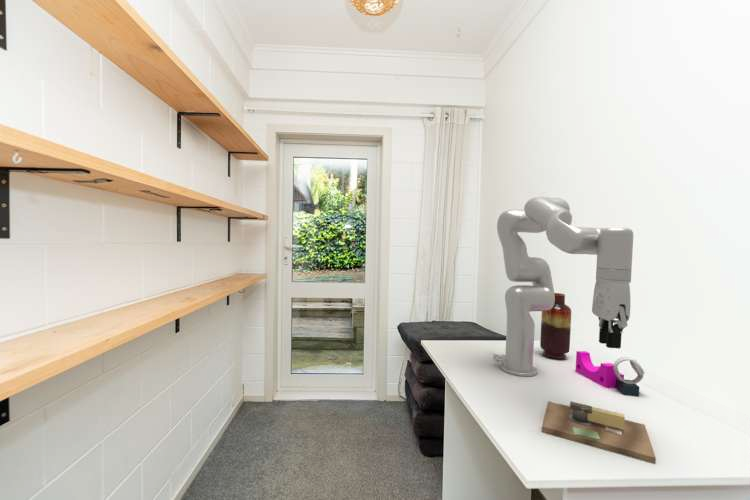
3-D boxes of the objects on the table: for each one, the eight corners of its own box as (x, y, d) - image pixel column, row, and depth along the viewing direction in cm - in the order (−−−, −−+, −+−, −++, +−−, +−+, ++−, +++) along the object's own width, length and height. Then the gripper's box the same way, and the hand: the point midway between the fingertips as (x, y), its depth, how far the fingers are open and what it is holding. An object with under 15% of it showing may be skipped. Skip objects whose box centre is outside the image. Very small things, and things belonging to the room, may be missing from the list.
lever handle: (569, 419, 88) (570, 405, 88) (569, 413, 92) (570, 399, 91) (624, 433, 82) (625, 418, 82) (622, 426, 86) (623, 412, 85)
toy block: (623, 388, 115) (624, 366, 115) (605, 388, 114) (606, 366, 114) (591, 370, 130) (592, 351, 129) (575, 371, 129) (576, 351, 129)
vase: (545, 349, 154) (548, 291, 153) (573, 355, 146) (576, 294, 145) (535, 354, 146) (538, 293, 146) (563, 361, 138) (566, 297, 137)
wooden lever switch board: (541, 434, 85) (542, 425, 85) (547, 407, 99) (548, 400, 99) (655, 467, 74) (655, 456, 74) (644, 432, 88) (644, 423, 87)
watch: (646, 397, 108) (648, 362, 107) (616, 394, 110) (618, 359, 109) (637, 390, 113) (639, 357, 113) (609, 386, 115) (611, 354, 115)
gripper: (583, 271, 98) (580, 335, 99) (613, 278, 82) (609, 354, 83) (612, 273, 97) (609, 337, 97) (648, 279, 81) (644, 357, 81)
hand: (609, 344), depth 90 cm, fingers open, 3 cm apart
